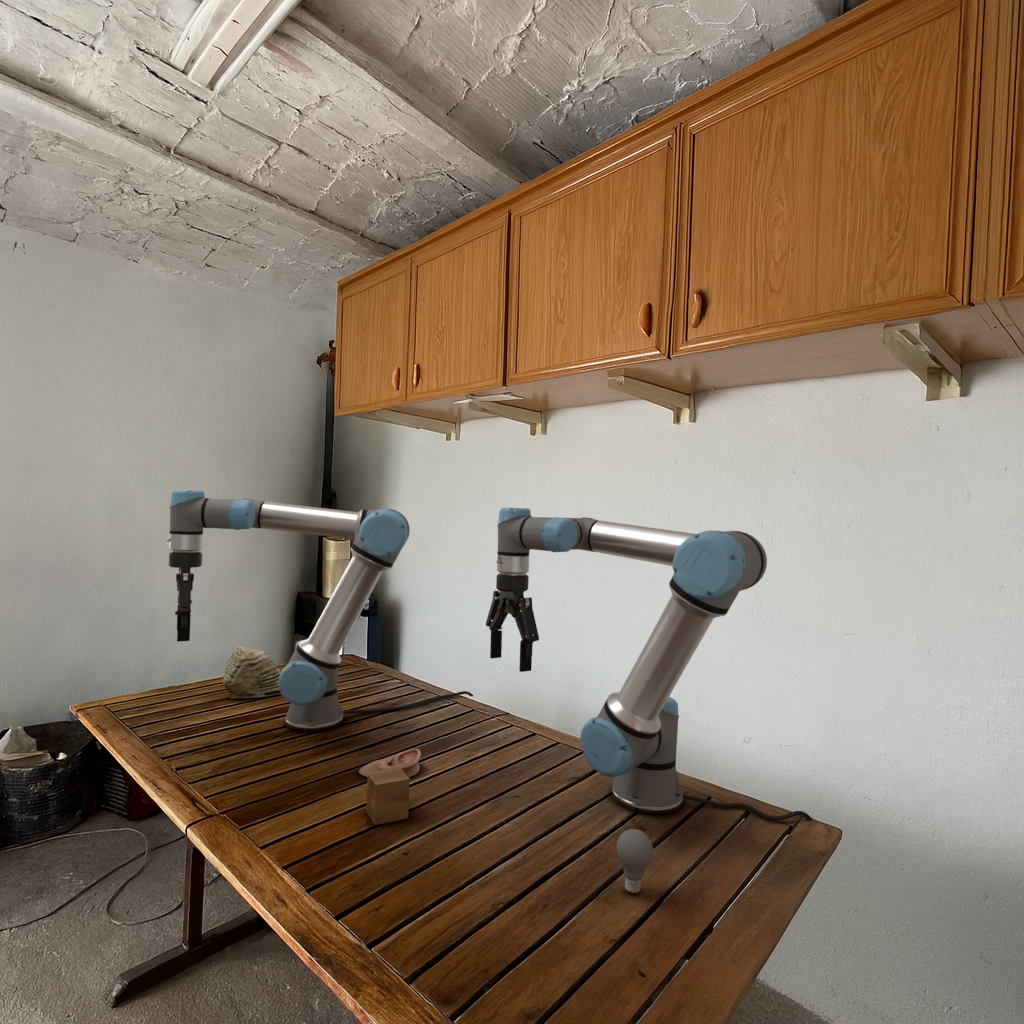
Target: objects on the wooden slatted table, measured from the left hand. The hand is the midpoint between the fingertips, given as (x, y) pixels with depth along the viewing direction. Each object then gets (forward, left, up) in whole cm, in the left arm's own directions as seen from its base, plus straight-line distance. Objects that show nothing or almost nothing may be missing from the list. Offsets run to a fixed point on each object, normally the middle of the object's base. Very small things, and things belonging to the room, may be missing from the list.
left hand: (182, 635), depth 159 cm
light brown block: (-11, +66, -27) cm, 72 cm away
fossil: (-32, -21, -27) cm, 47 cm away
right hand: (-43, +72, -1) cm, 83 cm away
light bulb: (-23, +115, -27) cm, 121 cm away
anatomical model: (-25, +51, -27) cm, 63 cm away
